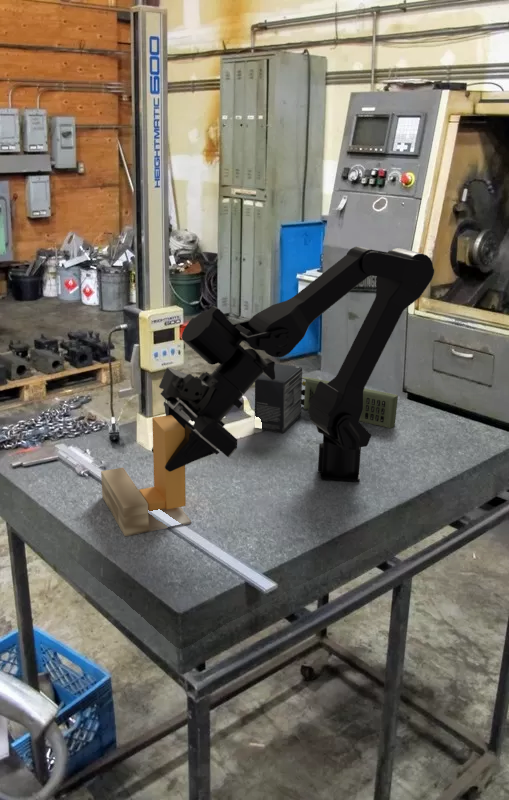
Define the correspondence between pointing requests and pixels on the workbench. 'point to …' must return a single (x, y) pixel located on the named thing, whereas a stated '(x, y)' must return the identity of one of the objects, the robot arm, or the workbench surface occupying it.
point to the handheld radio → (375, 404)
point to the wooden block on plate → (132, 504)
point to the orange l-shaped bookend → (166, 483)
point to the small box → (279, 398)
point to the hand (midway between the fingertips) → (160, 461)
